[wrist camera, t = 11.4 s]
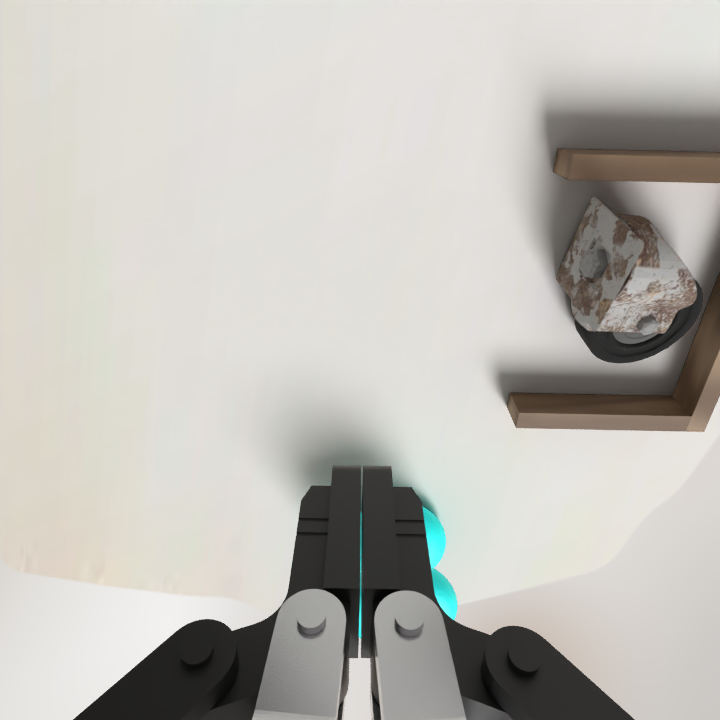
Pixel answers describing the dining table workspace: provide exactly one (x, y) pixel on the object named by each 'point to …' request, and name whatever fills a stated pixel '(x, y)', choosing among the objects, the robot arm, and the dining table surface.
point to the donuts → (432, 565)
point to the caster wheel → (627, 286)
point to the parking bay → (711, 343)
